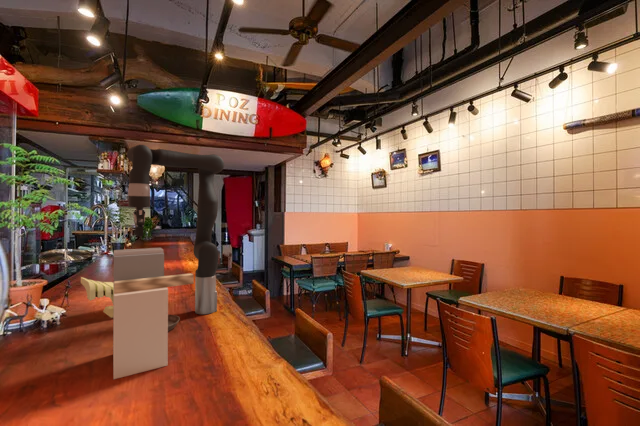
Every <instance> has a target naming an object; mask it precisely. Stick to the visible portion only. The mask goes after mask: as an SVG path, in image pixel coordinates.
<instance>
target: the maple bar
mask: <svg viewBox="0 0 640 426" xmlns="http://www.w3.org/2000/svg"><path fill="white" fill-rule="evenodd" d="M194 277H195V276H194V274H193V273H192V272H191V273H190V272H189V273H182V274H181V273H180V274H172V275H164V276H161V277H151V278H141V279H132V280H122V281H114V280H113V283H114V294H115V293H123V292H131V291H139V290H147V289H155V288H163V287H167V288H170V287H176V286H177V287H178V286H188V285H193V284H194V285H195V283H194V281H195V279H194Z"/></svg>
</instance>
